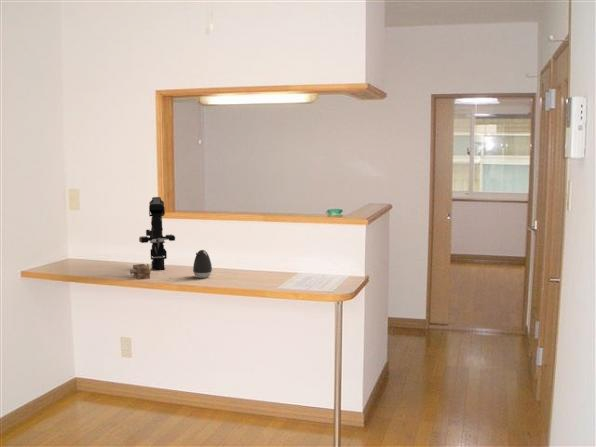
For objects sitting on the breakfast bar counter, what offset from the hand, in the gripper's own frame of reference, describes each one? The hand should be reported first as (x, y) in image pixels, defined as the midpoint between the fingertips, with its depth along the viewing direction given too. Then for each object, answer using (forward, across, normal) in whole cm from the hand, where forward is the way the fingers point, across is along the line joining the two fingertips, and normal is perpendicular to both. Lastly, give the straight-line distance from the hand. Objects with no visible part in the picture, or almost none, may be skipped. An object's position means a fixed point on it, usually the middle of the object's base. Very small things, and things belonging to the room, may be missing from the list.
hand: (157, 254), depth 339 cm
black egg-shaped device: (+12, -20, +17) cm, 29 cm away
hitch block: (+12, +9, 0) cm, 15 cm away
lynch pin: (+11, +10, 0) cm, 15 cm away
